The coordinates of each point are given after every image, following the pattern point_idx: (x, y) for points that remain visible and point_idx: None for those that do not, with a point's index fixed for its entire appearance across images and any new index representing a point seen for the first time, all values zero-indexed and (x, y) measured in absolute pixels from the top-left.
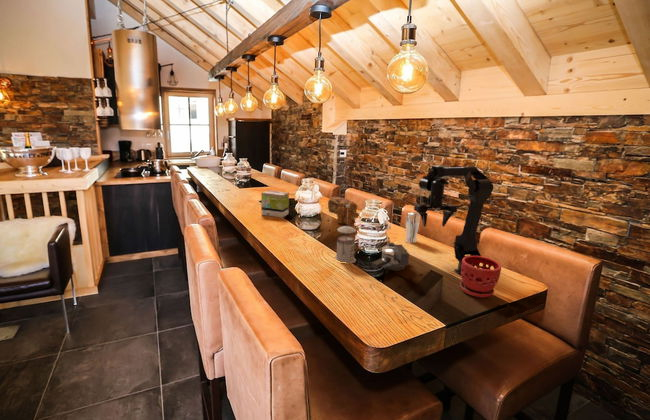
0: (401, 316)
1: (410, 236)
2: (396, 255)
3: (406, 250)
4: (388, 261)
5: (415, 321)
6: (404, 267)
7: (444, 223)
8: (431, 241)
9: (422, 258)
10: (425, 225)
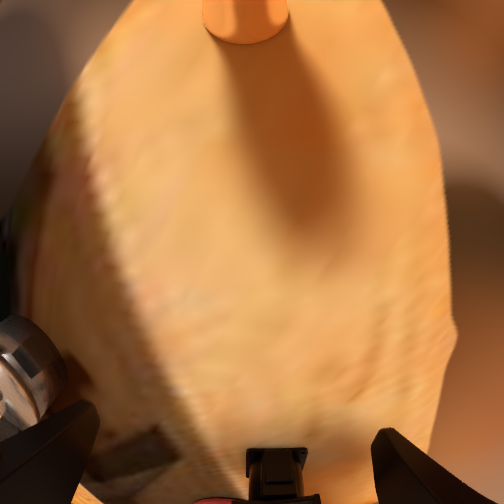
0: None
1: (215, 12)
2: None
3: (33, 418)
4: None
5: (80, 498)
6: (62, 388)
7: (376, 492)
8: (395, 46)
9: (165, 323)
10: (91, 440)
